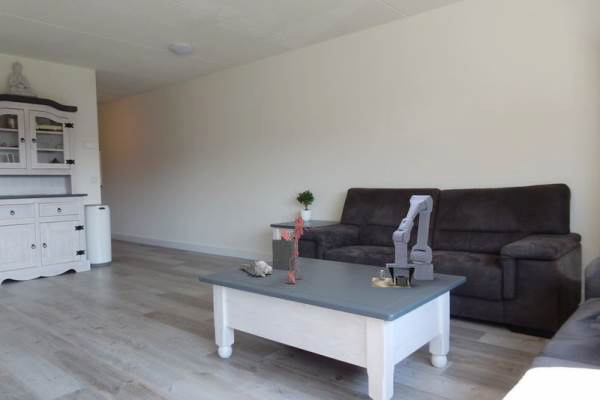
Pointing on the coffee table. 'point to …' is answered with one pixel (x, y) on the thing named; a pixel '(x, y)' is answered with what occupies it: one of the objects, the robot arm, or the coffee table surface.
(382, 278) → the post
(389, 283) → the board
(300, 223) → the figurine
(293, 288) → the coffee table surface
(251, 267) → the wrench
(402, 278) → the ring
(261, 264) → the white lumpy shape
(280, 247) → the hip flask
